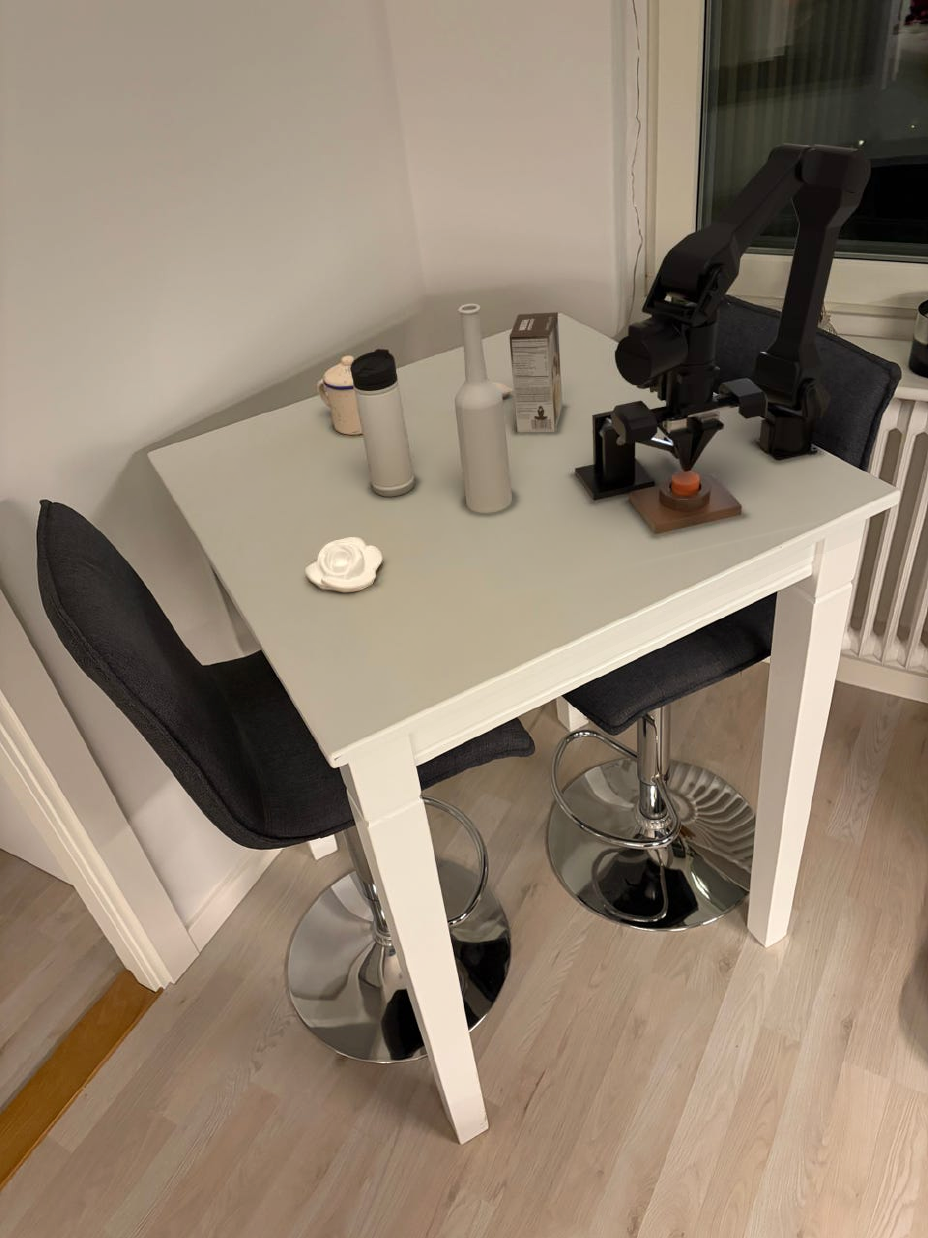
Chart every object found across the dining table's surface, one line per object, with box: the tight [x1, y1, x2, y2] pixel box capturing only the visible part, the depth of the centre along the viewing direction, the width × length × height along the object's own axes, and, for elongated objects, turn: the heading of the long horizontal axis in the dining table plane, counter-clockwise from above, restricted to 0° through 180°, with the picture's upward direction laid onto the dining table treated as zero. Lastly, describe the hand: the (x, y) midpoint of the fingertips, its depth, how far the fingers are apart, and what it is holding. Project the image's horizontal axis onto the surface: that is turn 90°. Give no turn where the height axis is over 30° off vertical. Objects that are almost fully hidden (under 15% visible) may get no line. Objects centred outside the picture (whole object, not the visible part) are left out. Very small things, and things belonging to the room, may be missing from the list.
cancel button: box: [671, 470, 700, 495], centre depth 123 cm, size 4×4×2 cm
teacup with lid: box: [316, 355, 363, 436], centre depth 153 cm, size 12×9×12 cm
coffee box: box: [508, 311, 563, 433], centre depth 145 cm, size 9×6×16 cm
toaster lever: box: [599, 418, 679, 460], centre depth 129 cm, size 12×5×2 cm, turn 105°
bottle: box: [454, 303, 513, 514], centre depth 123 cm, size 7×7×28 cm
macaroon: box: [492, 381, 514, 399], centre depth 157 cm, size 4×5×2 cm
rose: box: [304, 536, 383, 593], centre depth 120 cm, size 10×4×10 cm
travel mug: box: [350, 348, 416, 498], centre depth 132 cm, size 6×7×20 cm
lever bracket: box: [574, 410, 656, 501], centre depth 129 cm, size 9×8×10 cm
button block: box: [629, 473, 743, 535], centre depth 124 cm, size 12×9×4 cm
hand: (686, 469), depth 121 cm, fingers closed
